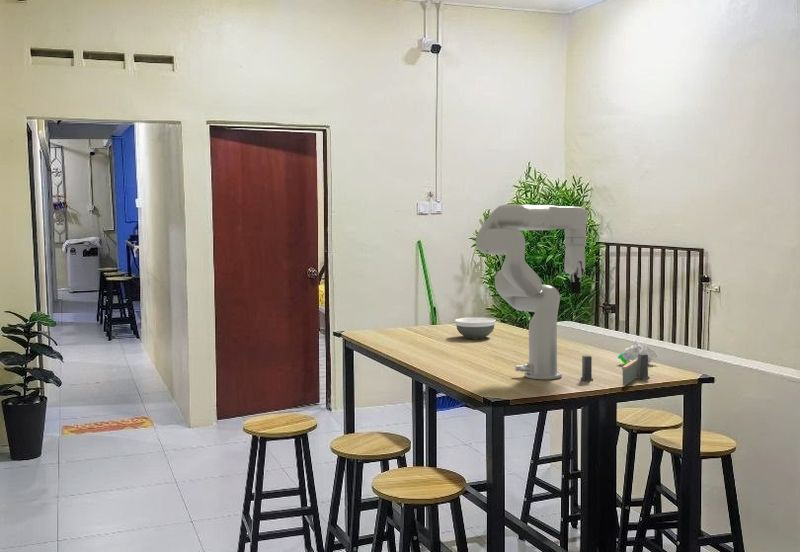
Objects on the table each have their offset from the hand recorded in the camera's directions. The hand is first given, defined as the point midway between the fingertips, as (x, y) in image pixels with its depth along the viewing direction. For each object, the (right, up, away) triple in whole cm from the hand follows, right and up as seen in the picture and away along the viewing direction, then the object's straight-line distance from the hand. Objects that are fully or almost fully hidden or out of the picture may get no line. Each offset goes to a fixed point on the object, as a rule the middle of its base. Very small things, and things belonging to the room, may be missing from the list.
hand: (575, 293), depth 287 cm
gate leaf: (+13, -28, -25) cm, 40 cm away
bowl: (-29, -22, +76) cm, 85 cm away
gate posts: (+9, -28, -19) cm, 36 cm away
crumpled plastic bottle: (+23, -27, +4) cm, 35 cm away
